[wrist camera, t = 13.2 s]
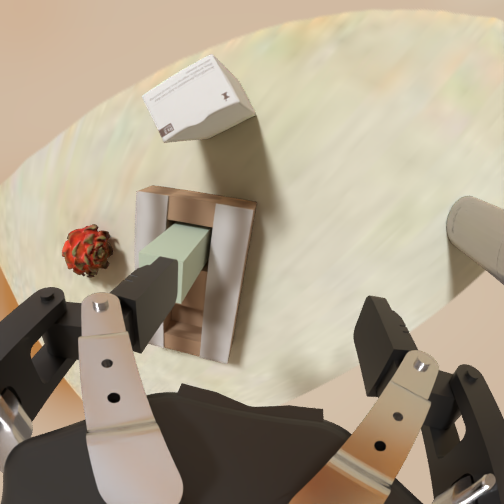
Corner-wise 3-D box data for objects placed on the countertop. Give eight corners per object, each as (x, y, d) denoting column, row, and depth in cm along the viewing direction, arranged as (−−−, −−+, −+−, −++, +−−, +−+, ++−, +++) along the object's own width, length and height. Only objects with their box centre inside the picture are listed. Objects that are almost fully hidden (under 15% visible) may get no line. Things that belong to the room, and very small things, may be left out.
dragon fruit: (128, 230, 45) (92, 251, 50) (91, 203, 39) (59, 230, 43) (119, 274, 41) (83, 290, 45) (76, 249, 34) (46, 270, 39)
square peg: (214, 223, 40) (183, 261, 27) (210, 255, 42) (181, 303, 29) (182, 217, 41) (138, 252, 28) (179, 248, 42) (139, 293, 29)
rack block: (256, 202, 40) (253, 210, 35) (232, 344, 49) (227, 363, 44) (152, 185, 40) (136, 191, 35) (150, 324, 50) (139, 340, 45)
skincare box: (239, 81, 34) (215, 47, 20) (258, 117, 35) (244, 100, 22) (186, 108, 36) (137, 92, 22) (204, 143, 37) (162, 144, 24)
